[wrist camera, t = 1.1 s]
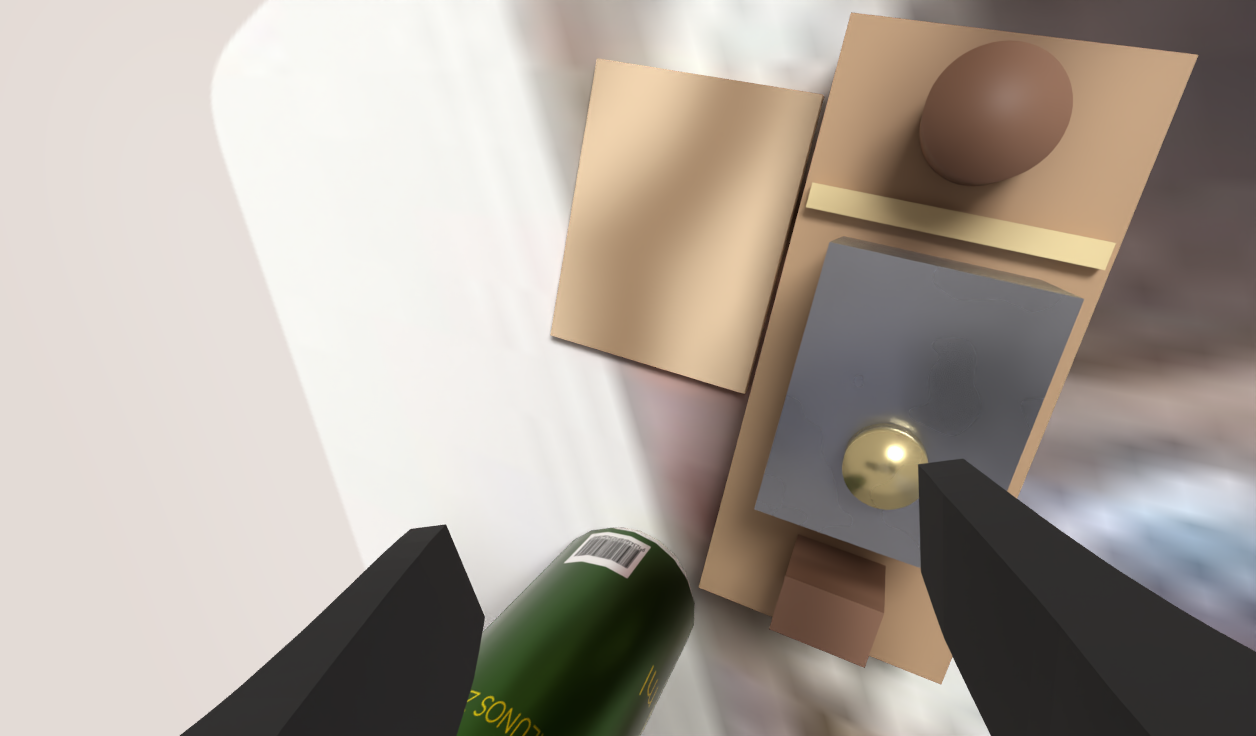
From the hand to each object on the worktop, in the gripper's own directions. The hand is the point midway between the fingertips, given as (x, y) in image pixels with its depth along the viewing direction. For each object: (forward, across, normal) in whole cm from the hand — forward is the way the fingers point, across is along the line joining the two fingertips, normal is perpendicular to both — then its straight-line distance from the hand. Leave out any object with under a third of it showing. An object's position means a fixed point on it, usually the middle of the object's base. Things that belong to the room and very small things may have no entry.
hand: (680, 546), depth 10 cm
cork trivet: (+13, 0, -1) cm, 13 cm away
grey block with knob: (+8, -5, +2) cm, 9 cm away
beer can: (+11, +4, +11) cm, 16 cm away
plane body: (+10, -6, +3) cm, 12 cm away
